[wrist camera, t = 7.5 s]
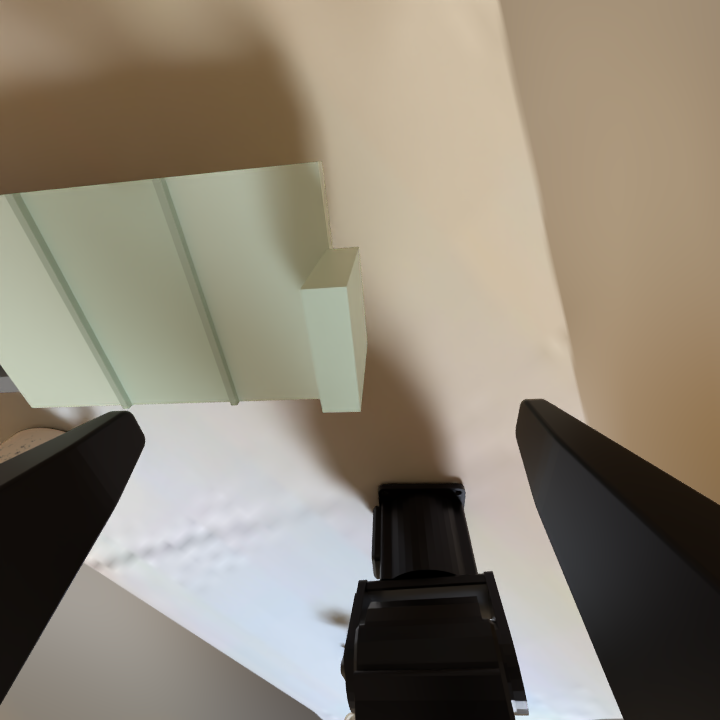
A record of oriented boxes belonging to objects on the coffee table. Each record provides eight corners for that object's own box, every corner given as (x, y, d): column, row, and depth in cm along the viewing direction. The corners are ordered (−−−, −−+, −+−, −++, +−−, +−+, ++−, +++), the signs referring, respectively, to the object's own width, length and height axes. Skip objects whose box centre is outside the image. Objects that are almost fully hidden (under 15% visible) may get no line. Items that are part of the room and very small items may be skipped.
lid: (353, 158, 12) (331, 157, 7) (372, 387, 16) (367, 474, 12) (-89, 204, 13) (-331, 227, 9) (45, 398, 18) (-68, 478, 14)
